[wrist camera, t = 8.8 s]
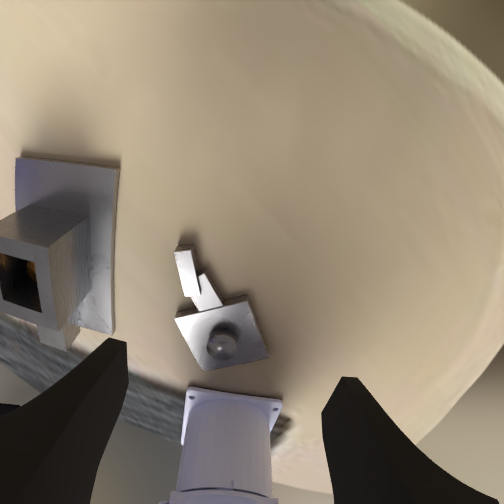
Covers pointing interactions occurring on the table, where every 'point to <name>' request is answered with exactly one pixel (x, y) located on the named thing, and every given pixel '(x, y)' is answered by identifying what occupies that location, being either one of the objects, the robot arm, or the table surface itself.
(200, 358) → the gray t-shaped latch
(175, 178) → the table surface
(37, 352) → the table surface
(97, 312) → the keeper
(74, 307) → the gray hollow cube
